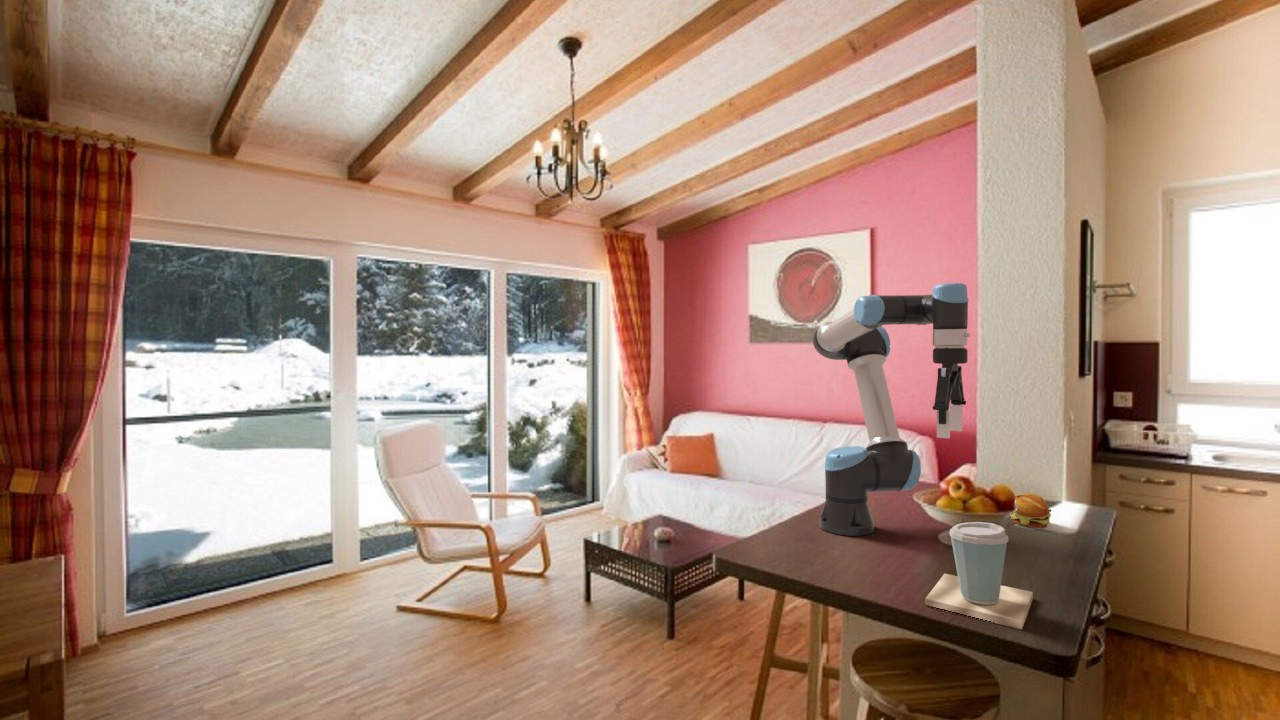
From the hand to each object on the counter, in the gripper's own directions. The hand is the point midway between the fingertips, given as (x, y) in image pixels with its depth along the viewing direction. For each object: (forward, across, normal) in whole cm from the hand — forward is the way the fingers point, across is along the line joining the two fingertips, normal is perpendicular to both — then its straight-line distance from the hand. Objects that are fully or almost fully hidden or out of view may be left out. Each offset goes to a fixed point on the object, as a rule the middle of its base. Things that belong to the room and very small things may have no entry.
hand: (949, 434), depth 148 cm
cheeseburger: (+32, +47, -12) cm, 58 cm away
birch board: (+32, -21, -10) cm, 39 cm away
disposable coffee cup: (+30, -23, -10) cm, 39 cm away
